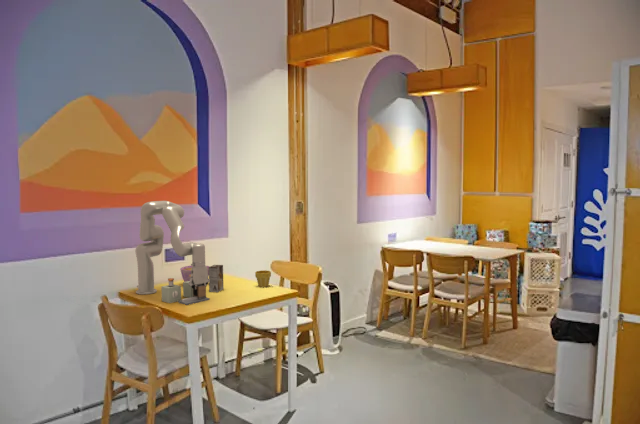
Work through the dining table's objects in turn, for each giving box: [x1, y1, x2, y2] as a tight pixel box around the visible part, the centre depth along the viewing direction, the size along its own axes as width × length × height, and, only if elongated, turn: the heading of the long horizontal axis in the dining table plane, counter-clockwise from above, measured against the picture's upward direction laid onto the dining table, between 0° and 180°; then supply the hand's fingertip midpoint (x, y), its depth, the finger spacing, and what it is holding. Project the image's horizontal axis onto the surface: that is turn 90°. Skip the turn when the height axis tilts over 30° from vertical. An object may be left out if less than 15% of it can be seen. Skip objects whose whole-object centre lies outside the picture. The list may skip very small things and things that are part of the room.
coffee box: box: [208, 264, 224, 293], centre depth 336 cm, size 9×6×16 cm
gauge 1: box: [167, 277, 175, 287], centre depth 309 cm, size 3×3×7 cm
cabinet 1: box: [160, 284, 182, 304], centre depth 310 cm, size 8×8×9 cm
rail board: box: [177, 296, 211, 306], centre depth 309 cm, size 9×16×2 cm, turn 139°
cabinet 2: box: [182, 281, 193, 298], centre depth 321 cm, size 8×8×9 cm
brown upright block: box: [193, 284, 207, 299], centre depth 312 cm, size 6×5×8 cm
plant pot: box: [254, 269, 272, 288], centre depth 348 cm, size 10×10×10 cm
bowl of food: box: [179, 264, 210, 282], centre depth 354 cm, size 20×20×12 cm
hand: (199, 294), depth 312 cm, fingers closed on brown upright block, 5 cm apart
